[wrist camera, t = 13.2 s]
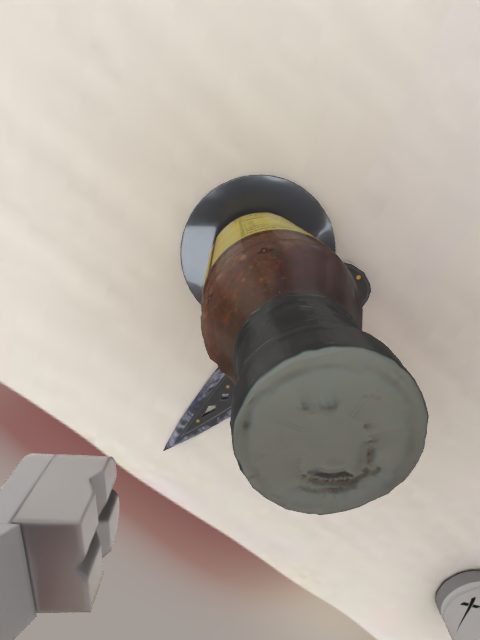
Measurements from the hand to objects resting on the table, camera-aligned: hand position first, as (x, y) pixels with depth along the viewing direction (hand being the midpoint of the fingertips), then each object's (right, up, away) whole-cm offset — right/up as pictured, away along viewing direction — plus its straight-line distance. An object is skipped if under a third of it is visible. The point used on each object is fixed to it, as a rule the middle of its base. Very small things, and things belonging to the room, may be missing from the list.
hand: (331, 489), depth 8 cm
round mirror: (-1, +7, +20) cm, 21 cm away
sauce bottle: (0, +7, +19) cm, 21 cm away
